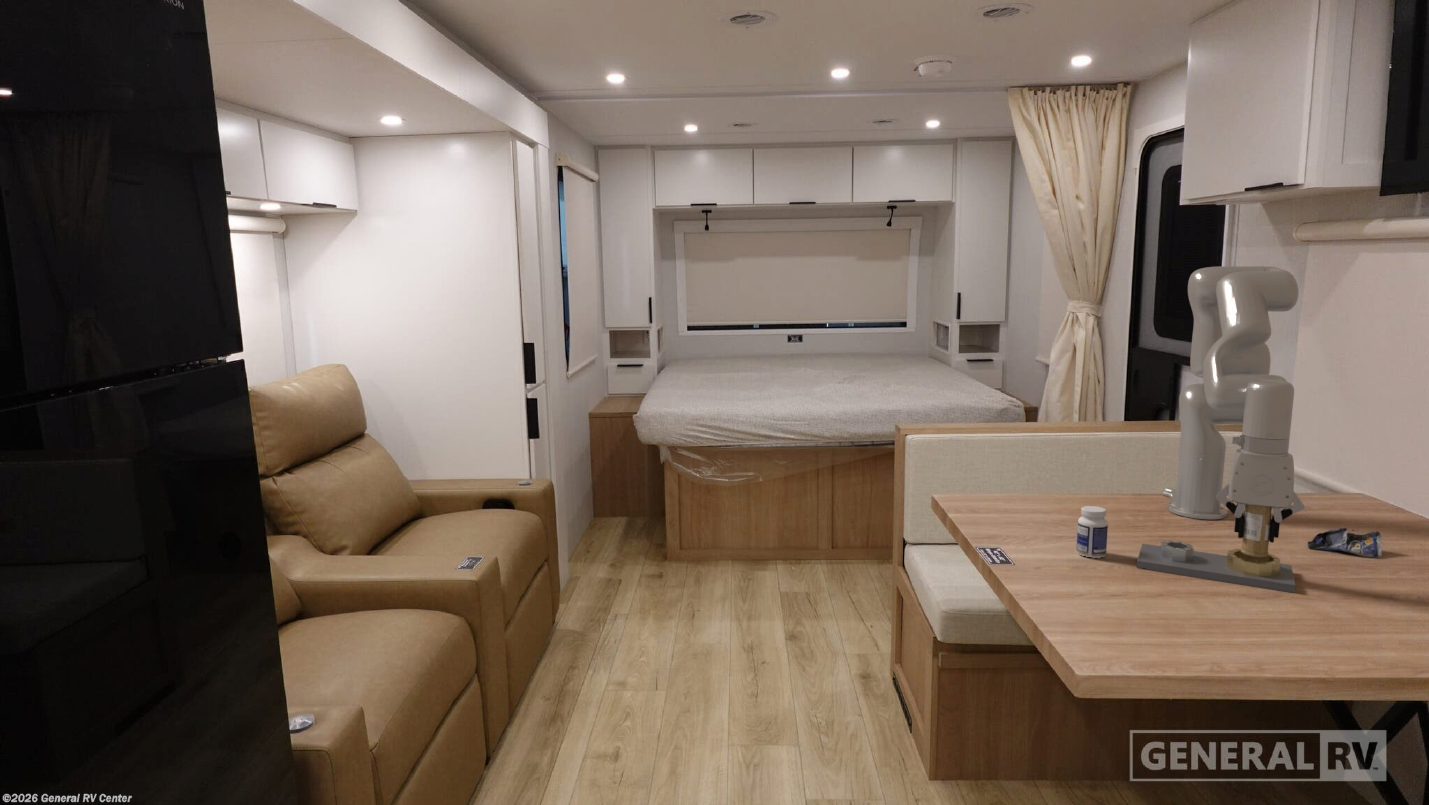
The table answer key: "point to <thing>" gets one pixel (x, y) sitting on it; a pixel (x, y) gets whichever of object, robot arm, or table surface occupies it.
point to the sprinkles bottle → (1256, 531)
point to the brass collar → (1253, 564)
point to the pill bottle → (1092, 532)
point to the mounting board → (1213, 569)
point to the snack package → (1348, 542)
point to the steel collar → (1176, 551)
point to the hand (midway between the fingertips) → (1255, 537)
